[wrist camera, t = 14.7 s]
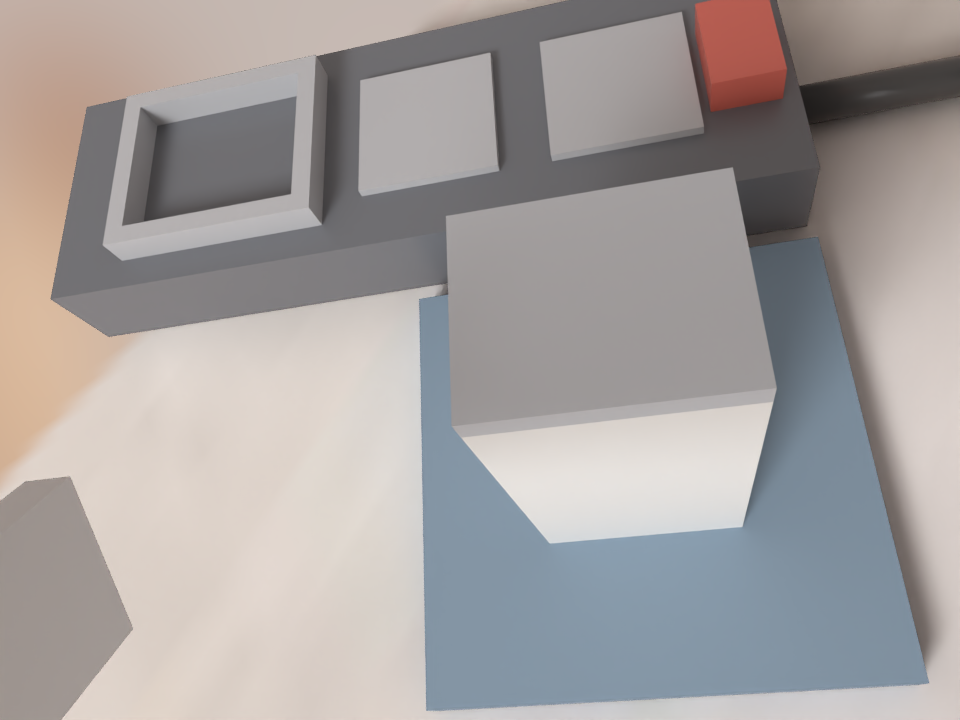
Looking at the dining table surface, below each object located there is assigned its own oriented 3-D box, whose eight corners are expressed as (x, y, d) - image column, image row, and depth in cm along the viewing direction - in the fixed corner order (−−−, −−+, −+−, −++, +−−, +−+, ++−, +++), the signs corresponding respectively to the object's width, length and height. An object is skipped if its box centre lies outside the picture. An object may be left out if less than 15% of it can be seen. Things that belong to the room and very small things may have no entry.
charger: (717, 382, 23) (732, 166, 14) (742, 526, 21) (776, 388, 12) (539, 404, 24) (446, 216, 15) (550, 543, 22) (451, 426, 13)
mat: (813, 253, 25) (817, 236, 24) (918, 684, 20) (929, 682, 19) (428, 312, 27) (419, 298, 26) (437, 711, 22) (426, 710, 21)
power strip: (1034, -29, 27) (1090, -151, 23) (1124, 175, 23) (1206, 71, 20) (136, 156, 33) (64, 84, 29) (108, 336, 30) (23, 281, 26)
